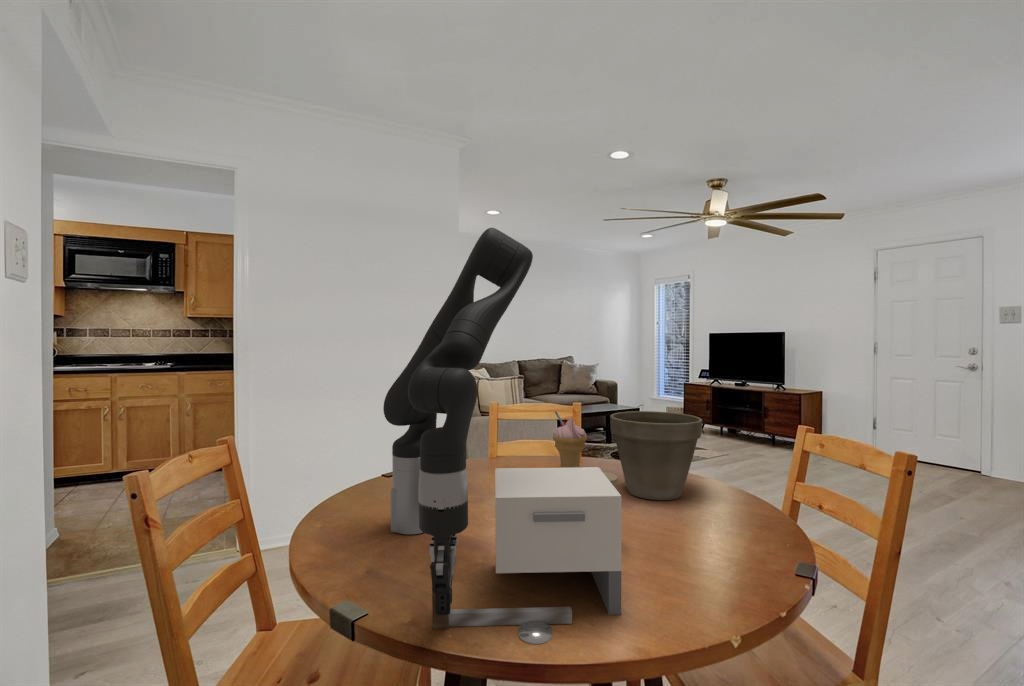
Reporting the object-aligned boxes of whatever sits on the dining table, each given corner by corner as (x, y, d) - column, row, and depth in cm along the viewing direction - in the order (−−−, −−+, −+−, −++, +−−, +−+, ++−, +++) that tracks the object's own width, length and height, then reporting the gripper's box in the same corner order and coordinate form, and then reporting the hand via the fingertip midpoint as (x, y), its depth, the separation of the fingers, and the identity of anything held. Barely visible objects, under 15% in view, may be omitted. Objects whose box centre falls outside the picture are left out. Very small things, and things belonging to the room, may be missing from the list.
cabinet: (495, 620, 82) (495, 499, 82) (495, 566, 101) (495, 468, 100) (622, 617, 83) (622, 498, 82) (598, 564, 102) (598, 467, 101)
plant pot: (658, 476, 164) (658, 407, 164) (722, 498, 142) (722, 418, 142) (592, 487, 153) (592, 413, 152) (651, 513, 131) (651, 426, 130)
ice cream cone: (558, 479, 161) (558, 414, 161) (548, 470, 172) (548, 409, 172) (592, 477, 163) (592, 413, 163) (580, 468, 174) (580, 408, 174)
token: (518, 646, 76) (518, 639, 76) (518, 627, 81) (518, 620, 81) (553, 646, 76) (553, 640, 76) (551, 627, 81) (551, 620, 81)
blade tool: (432, 629, 80) (431, 563, 79) (434, 620, 82) (433, 557, 82) (572, 625, 80) (572, 561, 80) (570, 617, 83) (570, 554, 82)
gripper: (424, 484, 87) (425, 587, 88) (411, 513, 73) (412, 635, 74) (469, 483, 87) (470, 586, 88) (465, 512, 74) (466, 634, 74)
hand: (444, 608), depth 81 cm, fingers closed on blade tool, 2 cm apart
